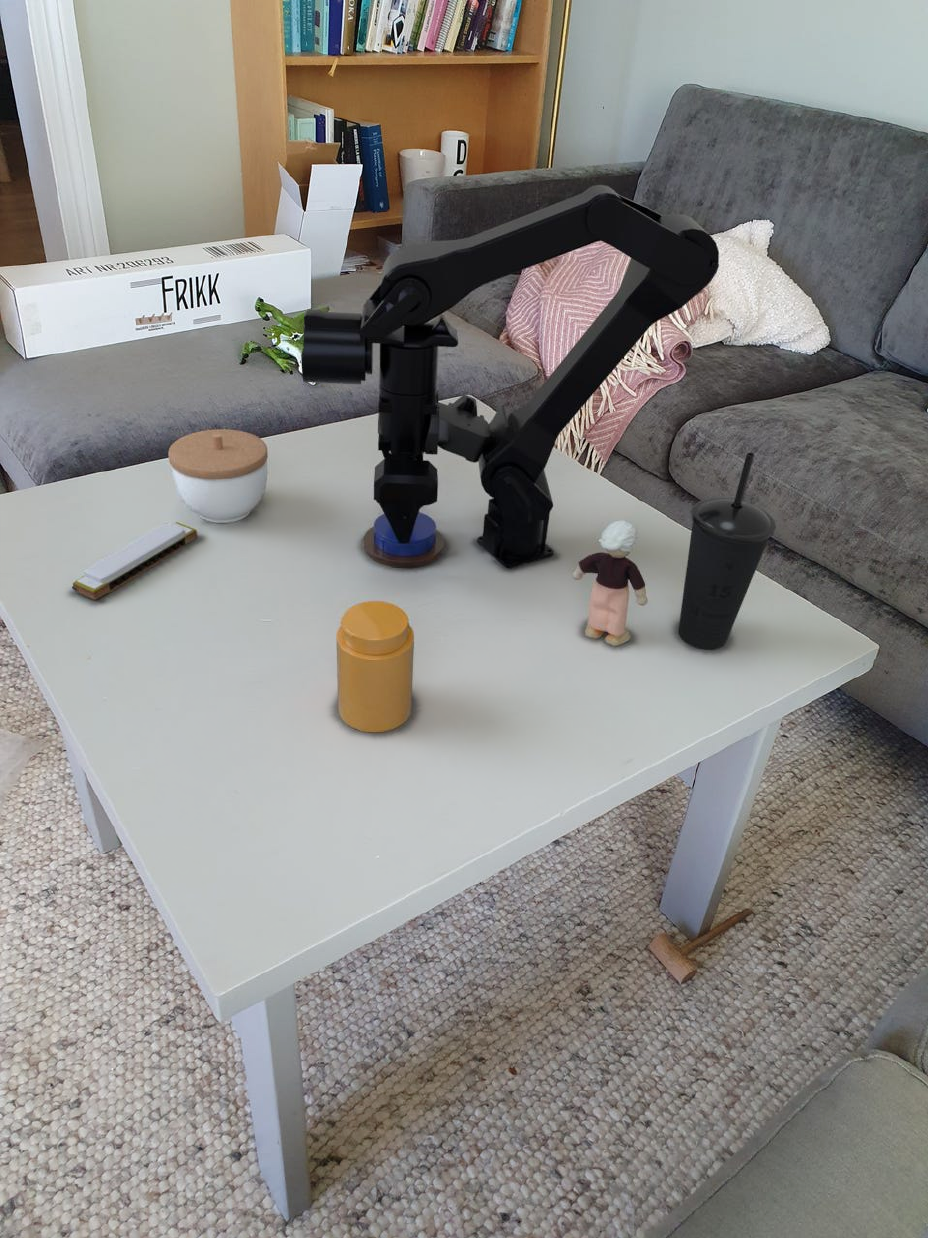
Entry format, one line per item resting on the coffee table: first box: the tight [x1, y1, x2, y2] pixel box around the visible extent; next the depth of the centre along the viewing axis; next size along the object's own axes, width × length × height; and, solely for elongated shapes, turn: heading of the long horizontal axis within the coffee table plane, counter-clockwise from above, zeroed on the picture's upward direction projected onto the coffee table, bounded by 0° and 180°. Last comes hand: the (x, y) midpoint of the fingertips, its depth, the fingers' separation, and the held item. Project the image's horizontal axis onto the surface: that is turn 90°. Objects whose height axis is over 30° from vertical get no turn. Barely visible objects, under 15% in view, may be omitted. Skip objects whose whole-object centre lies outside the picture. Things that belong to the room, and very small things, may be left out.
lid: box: [373, 511, 437, 556], centre depth 101 cm, size 7×7×2 cm
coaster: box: [362, 525, 445, 569], centre depth 102 cm, size 9×9×1 cm
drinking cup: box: [677, 452, 777, 651], centre depth 86 cm, size 8×8×20 cm
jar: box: [335, 600, 415, 733], centre depth 78 cm, size 6×6×10 cm
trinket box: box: [167, 428, 269, 524], centre depth 104 cm, size 11×11×9 cm
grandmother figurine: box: [571, 520, 648, 647], centre depth 88 cm, size 8×4×13 cm, turn 71°
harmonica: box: [71, 521, 198, 601], centre depth 95 cm, size 15×3×2 cm, turn 151°
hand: (404, 520), depth 100 cm, fingers open, 9 cm apart
